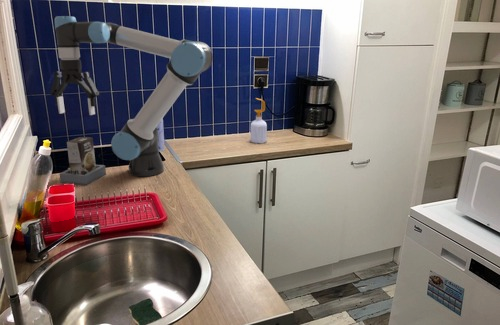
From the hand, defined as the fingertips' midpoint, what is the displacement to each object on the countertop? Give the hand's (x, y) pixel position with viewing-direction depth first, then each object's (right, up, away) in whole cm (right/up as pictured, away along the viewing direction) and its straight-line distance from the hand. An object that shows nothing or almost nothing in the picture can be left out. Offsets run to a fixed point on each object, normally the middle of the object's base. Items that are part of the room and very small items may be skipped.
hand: (77, 113), depth 163 cm
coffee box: (0, -26, +8) cm, 27 cm away
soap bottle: (+74, -8, +69) cm, 101 cm away
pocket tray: (-1, -26, +8) cm, 27 cm away
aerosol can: (+21, -13, +51) cm, 56 cm away
